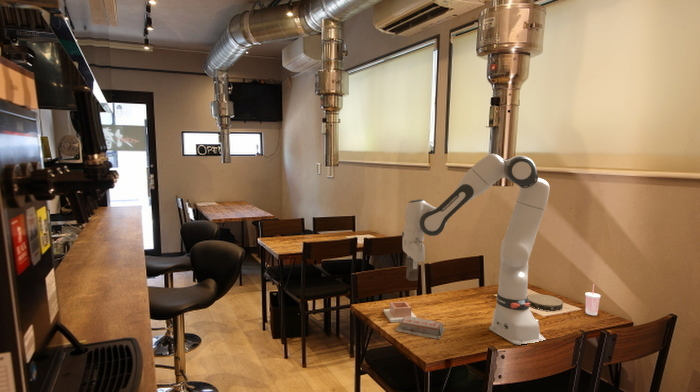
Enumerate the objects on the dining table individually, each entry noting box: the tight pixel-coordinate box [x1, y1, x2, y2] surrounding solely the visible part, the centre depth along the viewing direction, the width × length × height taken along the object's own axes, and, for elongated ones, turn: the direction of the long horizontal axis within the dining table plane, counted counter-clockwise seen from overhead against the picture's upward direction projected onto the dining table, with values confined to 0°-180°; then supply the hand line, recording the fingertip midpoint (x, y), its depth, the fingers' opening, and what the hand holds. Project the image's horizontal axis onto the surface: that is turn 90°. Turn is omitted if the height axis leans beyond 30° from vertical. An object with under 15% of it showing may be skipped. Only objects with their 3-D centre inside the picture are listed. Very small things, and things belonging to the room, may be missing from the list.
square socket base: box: [383, 301, 418, 323], centre depth 182 cm, size 12×12×5 cm
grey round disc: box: [527, 293, 564, 312], centre depth 199 cm, size 16×16×3 cm
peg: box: [405, 257, 420, 282], centre depth 182 cm, size 4×4×9 cm
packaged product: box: [395, 316, 445, 340], centre depth 167 cm, size 18×5×10 cm
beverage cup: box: [584, 283, 602, 316], centre depth 188 cm, size 6×6×14 cm
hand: (412, 266), depth 182 cm, fingers closed on peg, 4 cm apart
